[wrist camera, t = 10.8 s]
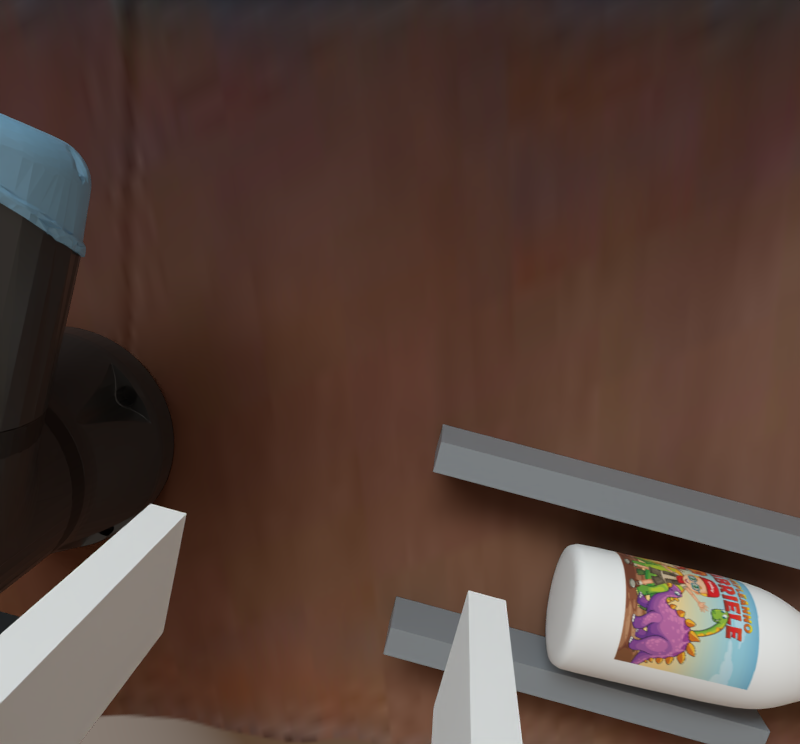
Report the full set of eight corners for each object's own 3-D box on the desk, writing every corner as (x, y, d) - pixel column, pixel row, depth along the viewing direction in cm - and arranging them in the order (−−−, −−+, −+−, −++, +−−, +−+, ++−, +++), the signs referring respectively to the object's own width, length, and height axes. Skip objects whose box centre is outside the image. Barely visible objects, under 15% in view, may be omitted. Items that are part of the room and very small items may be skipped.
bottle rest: (389, 621, 50) (383, 653, 46) (443, 424, 47) (441, 441, 43) (735, 716, 49) (759, 758, 45) (813, 521, 46) (846, 548, 42)
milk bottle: (542, 582, 50) (822, 646, 50) (541, 689, 44) (858, 762, 44) (576, 517, 45) (888, 587, 44) (579, 627, 39) (938, 709, 39)
